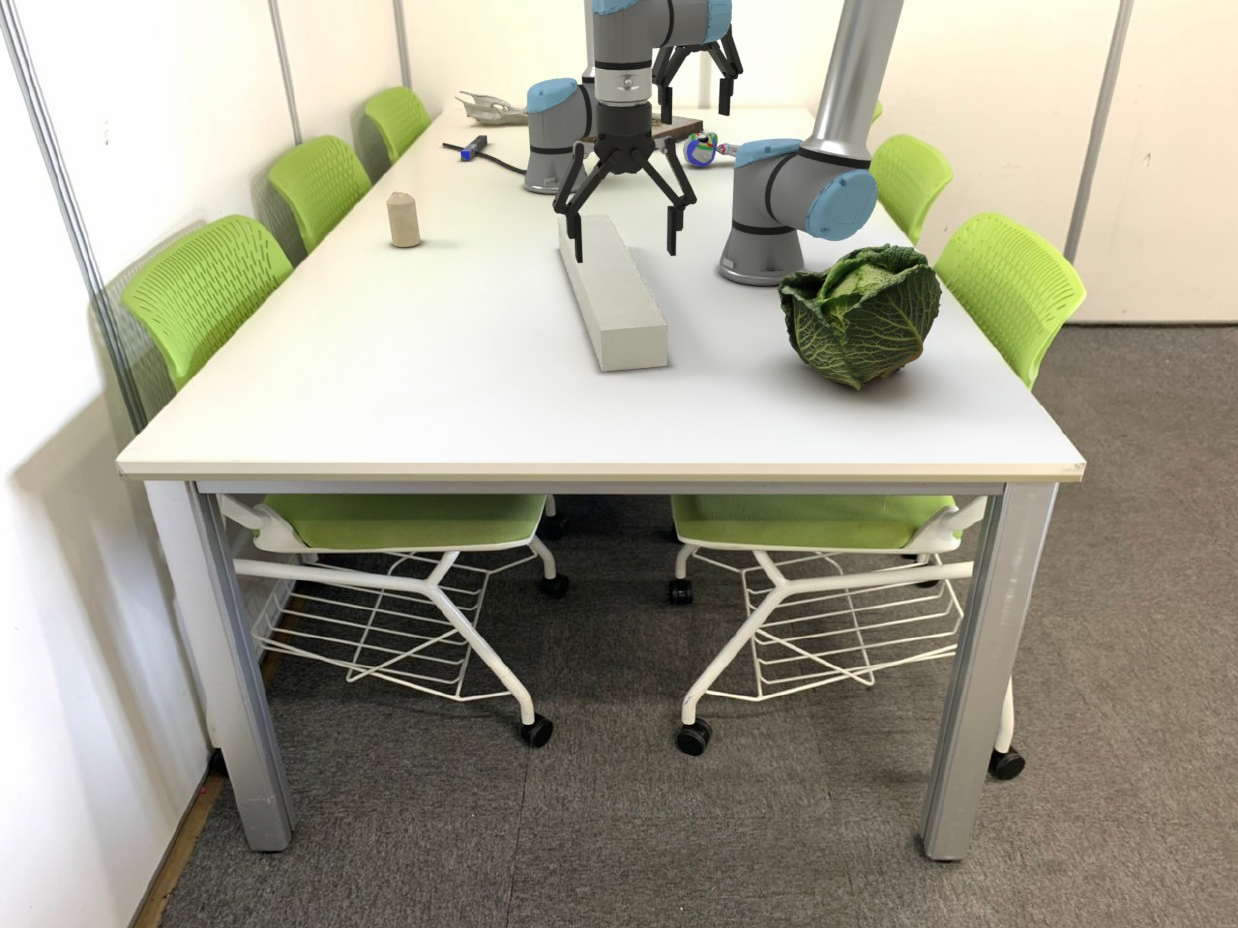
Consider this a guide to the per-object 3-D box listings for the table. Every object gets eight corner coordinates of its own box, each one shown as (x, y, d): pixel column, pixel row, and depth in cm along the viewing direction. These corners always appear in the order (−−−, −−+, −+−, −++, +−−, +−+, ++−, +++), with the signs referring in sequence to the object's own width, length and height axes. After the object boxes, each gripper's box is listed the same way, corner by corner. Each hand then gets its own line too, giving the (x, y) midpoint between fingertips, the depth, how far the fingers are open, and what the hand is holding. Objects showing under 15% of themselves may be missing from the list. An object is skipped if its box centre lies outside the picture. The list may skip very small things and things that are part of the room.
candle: (425, 240, 182) (419, 190, 176) (411, 248, 177) (404, 198, 172) (401, 237, 183) (394, 188, 178) (387, 246, 179) (379, 195, 174)
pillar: (486, 135, 252) (468, 152, 235) (487, 143, 253) (468, 161, 236) (479, 135, 252) (460, 152, 236) (480, 143, 253) (461, 160, 237)
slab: (559, 249, 176) (557, 216, 173) (608, 246, 177) (607, 213, 174) (602, 372, 130) (600, 330, 127) (667, 366, 132) (667, 324, 128)
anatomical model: (463, 88, 279) (541, 86, 276) (467, 119, 284) (543, 118, 281) (448, 97, 267) (529, 96, 263) (453, 130, 272) (532, 129, 268)
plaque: (647, 125, 237) (559, 112, 252) (647, 153, 241) (560, 139, 256) (706, 107, 258) (622, 97, 273) (705, 133, 262) (622, 121, 277)
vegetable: (807, 399, 136) (749, 288, 129) (909, 328, 138) (857, 214, 130) (877, 433, 118) (813, 305, 110) (993, 351, 119) (938, 219, 112)
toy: (807, 147, 224) (690, 133, 219) (799, 181, 228) (684, 168, 224) (796, 138, 233) (684, 124, 228) (789, 171, 237) (678, 158, 232)
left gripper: (652, 1, 153) (652, 130, 164) (766, -8, 164) (758, 114, 175) (629, -2, 158) (630, 124, 169) (741, -11, 169) (735, 108, 180)
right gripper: (532, 111, 114) (542, 272, 125) (722, 101, 117) (715, 258, 128) (526, 100, 120) (537, 254, 131) (707, 91, 123) (702, 242, 135)
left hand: (695, 119), depth 172 cm, fingers open, 13 cm apart
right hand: (625, 256), depth 130 cm, fingers open, 13 cm apart
